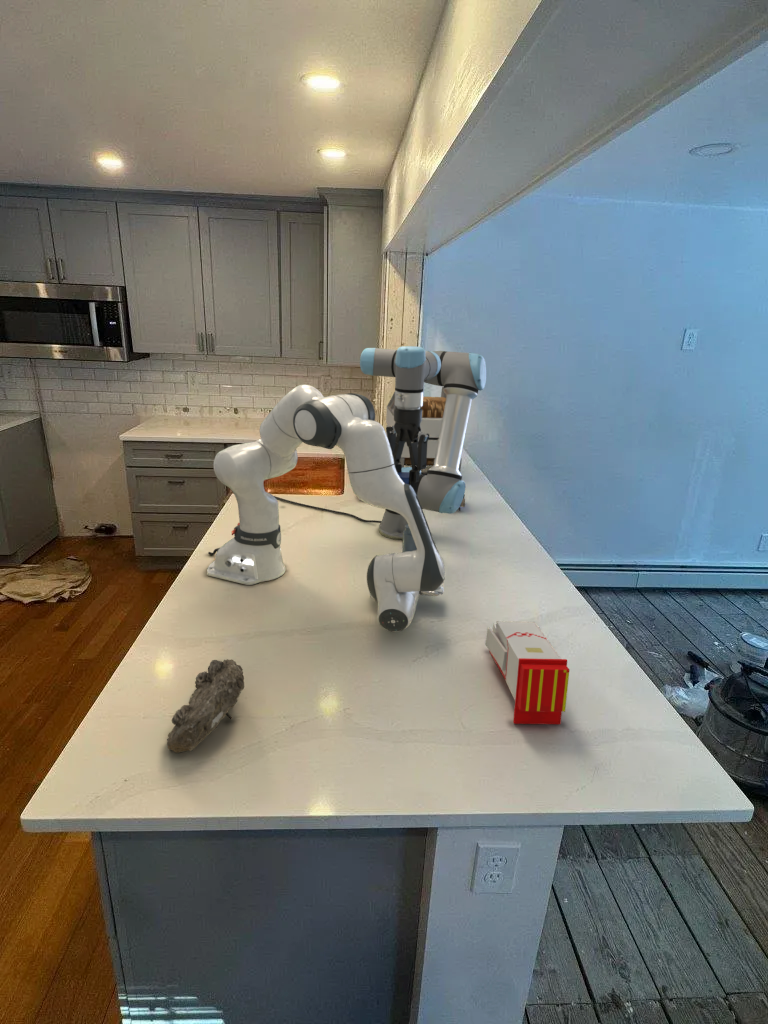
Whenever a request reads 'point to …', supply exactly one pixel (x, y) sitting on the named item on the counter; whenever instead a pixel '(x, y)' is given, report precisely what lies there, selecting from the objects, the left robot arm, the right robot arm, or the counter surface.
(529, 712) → the toy
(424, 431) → the transformer
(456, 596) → the counter surface
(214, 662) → the fossil
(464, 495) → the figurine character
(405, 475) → the lid
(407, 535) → the grey long cylinder
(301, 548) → the counter surface
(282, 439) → the left robot arm
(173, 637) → the counter surface
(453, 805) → the counter surface
